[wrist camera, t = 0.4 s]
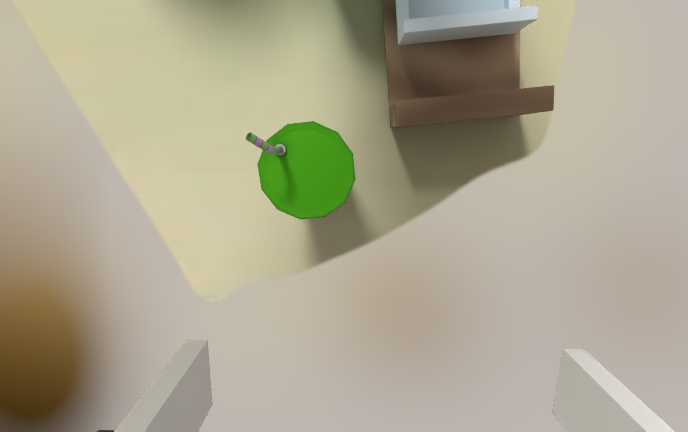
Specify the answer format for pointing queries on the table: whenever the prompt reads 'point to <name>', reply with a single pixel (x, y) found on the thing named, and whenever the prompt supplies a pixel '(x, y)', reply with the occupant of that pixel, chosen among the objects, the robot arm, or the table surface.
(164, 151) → the table surface
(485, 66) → the track
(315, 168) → the cup
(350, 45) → the table surface
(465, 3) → the light blue holder
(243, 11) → the table surface
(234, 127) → the table surface
